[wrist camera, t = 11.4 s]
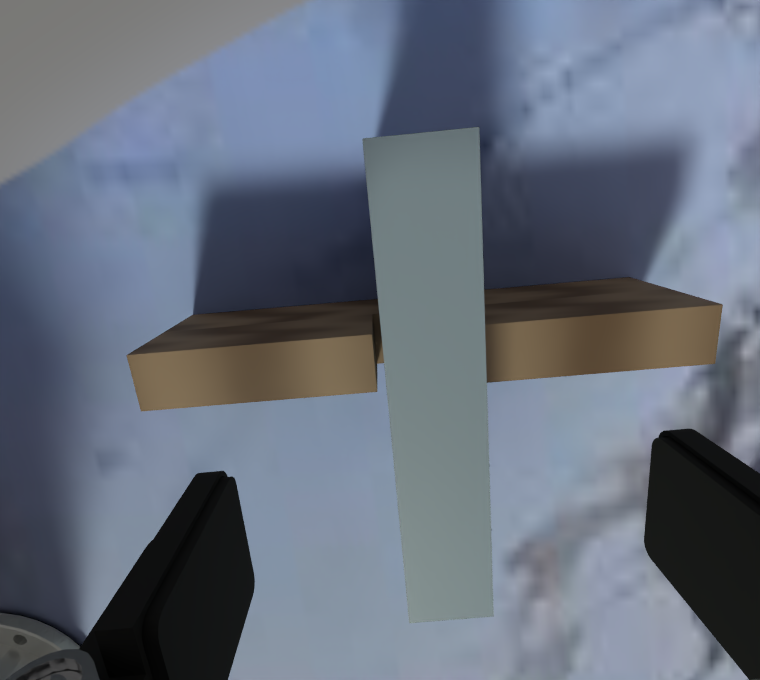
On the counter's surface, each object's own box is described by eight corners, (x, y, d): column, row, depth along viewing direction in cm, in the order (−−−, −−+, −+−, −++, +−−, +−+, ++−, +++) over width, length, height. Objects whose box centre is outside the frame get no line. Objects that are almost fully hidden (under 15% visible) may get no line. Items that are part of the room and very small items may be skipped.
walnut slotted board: (201, 357, 26) (141, 411, 19) (192, 314, 25) (126, 355, 19) (626, 321, 26) (715, 363, 19) (629, 277, 25) (722, 304, 18)
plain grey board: (369, 170, 23) (362, 138, 12) (428, 164, 23) (479, 127, 12) (395, 449, 28) (409, 623, 16) (444, 445, 28) (493, 616, 16)
